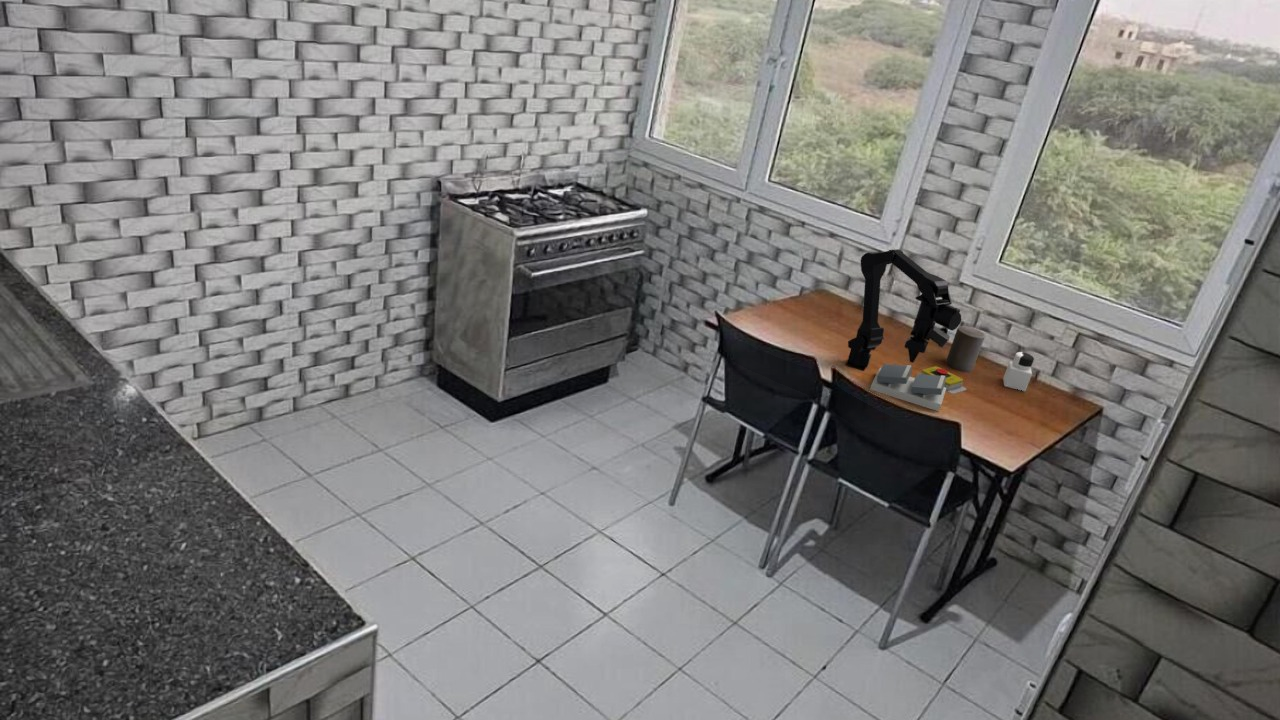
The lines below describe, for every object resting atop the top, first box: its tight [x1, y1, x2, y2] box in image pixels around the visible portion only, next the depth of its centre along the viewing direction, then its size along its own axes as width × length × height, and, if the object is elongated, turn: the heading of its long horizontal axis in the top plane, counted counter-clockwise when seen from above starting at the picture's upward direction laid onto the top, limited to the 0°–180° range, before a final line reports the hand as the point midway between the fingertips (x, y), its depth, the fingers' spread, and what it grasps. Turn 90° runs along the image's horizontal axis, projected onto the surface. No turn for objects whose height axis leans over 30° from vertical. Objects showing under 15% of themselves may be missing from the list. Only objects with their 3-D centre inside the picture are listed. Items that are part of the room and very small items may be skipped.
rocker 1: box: [877, 363, 913, 384], centre depth 273 cm, size 9×12×2 cm
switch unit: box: [869, 367, 947, 412], centre depth 274 cm, size 22×15×4 cm
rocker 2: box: [911, 373, 946, 395], centre depth 270 cm, size 9×12×2 cm
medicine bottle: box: [1002, 351, 1035, 392], centre depth 292 cm, size 7×7×12 cm
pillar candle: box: [945, 325, 987, 373], centre depth 300 cm, size 10×10×15 cm
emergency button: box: [919, 365, 968, 395], centre depth 286 cm, size 9×4×15 cm
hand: (911, 362), depth 270 cm, fingers closed
